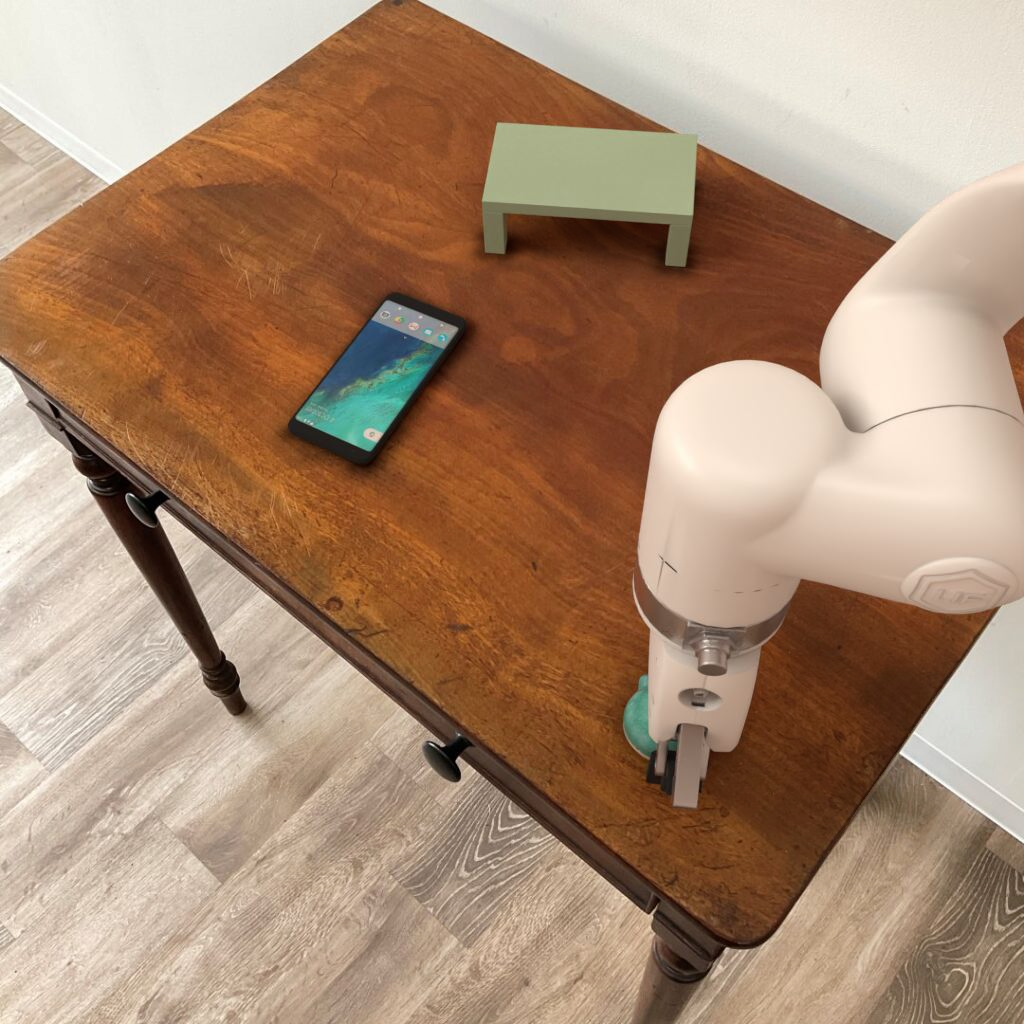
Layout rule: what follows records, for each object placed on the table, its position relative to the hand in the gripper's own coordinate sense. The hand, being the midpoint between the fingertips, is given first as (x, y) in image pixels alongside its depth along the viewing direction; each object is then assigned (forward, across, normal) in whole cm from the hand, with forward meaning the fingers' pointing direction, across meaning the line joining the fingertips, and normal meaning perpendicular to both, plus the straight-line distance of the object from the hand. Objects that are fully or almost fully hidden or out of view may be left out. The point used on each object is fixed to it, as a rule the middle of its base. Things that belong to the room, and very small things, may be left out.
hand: (676, 709), depth 67 cm
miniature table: (+1, +42, +9) cm, 43 cm away
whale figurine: (+1, 0, 0) cm, 1 cm away
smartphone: (+1, +24, +23) cm, 33 cm away
